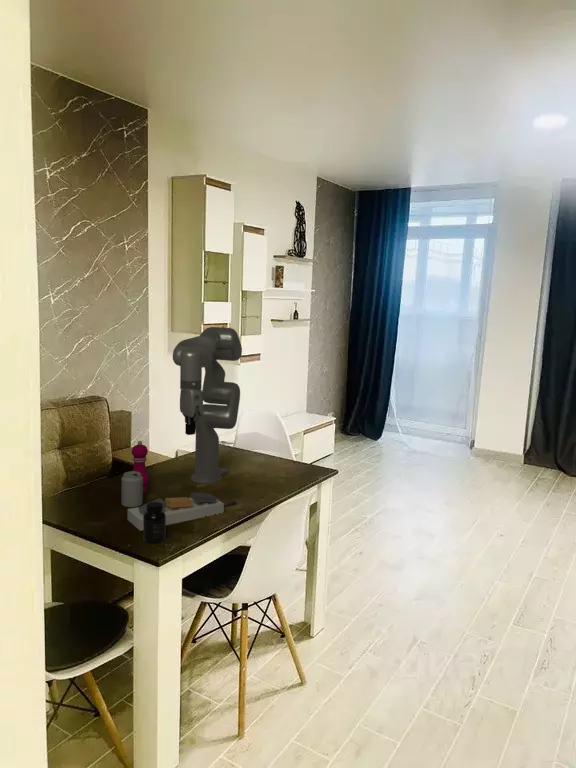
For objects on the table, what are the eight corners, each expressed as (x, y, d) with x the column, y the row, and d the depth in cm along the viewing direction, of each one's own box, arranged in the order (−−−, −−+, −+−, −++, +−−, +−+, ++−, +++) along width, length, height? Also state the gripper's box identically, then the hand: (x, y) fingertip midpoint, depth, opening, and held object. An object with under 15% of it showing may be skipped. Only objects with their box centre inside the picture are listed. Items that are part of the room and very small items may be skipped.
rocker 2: (185, 502, 210) (186, 497, 210) (191, 506, 206) (192, 501, 206) (164, 503, 205) (165, 498, 205) (170, 507, 202) (171, 502, 201)
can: (145, 507, 216) (145, 475, 214) (124, 510, 212) (124, 477, 210) (139, 500, 222) (139, 469, 220) (119, 503, 218) (119, 471, 216)
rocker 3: (209, 498, 215) (210, 493, 215) (215, 502, 212) (217, 497, 212) (190, 497, 211) (191, 492, 211) (196, 501, 207) (197, 496, 207)
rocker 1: (161, 502, 204) (160, 497, 204) (167, 506, 201) (165, 502, 200) (139, 512, 200) (138, 507, 200) (144, 516, 196) (143, 511, 196)
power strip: (227, 500, 226) (228, 489, 225) (242, 510, 217) (243, 498, 216) (127, 520, 203) (127, 507, 202) (139, 531, 194) (140, 518, 194)
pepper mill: (125, 491, 230) (125, 441, 227) (138, 486, 237) (138, 437, 234) (140, 495, 227) (140, 444, 224) (152, 490, 234) (153, 440, 230)
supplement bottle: (167, 537, 192) (168, 501, 190) (162, 546, 185) (163, 509, 183) (146, 535, 192) (146, 499, 190) (140, 544, 185) (140, 507, 183)
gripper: (210, 387, 209) (209, 438, 213) (190, 379, 221) (190, 427, 225) (191, 389, 205) (190, 441, 209) (172, 381, 217) (171, 430, 220)
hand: (190, 434), depth 217 cm, fingers closed
